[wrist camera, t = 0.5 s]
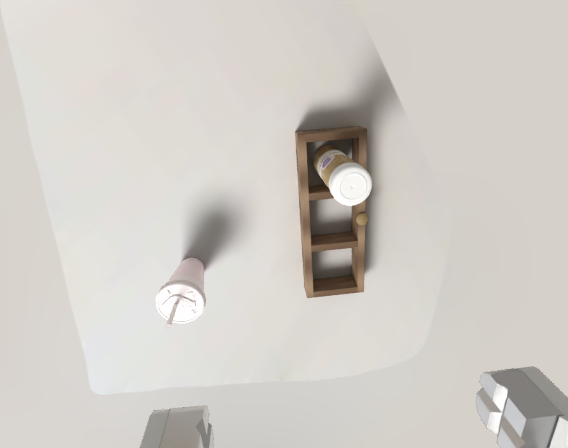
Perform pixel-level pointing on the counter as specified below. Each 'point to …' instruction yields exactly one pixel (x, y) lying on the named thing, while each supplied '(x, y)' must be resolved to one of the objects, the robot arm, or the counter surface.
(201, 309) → the smoothie
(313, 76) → the counter surface
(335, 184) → the sprinkles bottle
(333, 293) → the spice caddy
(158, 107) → the counter surface
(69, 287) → the counter surface
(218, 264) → the counter surface
